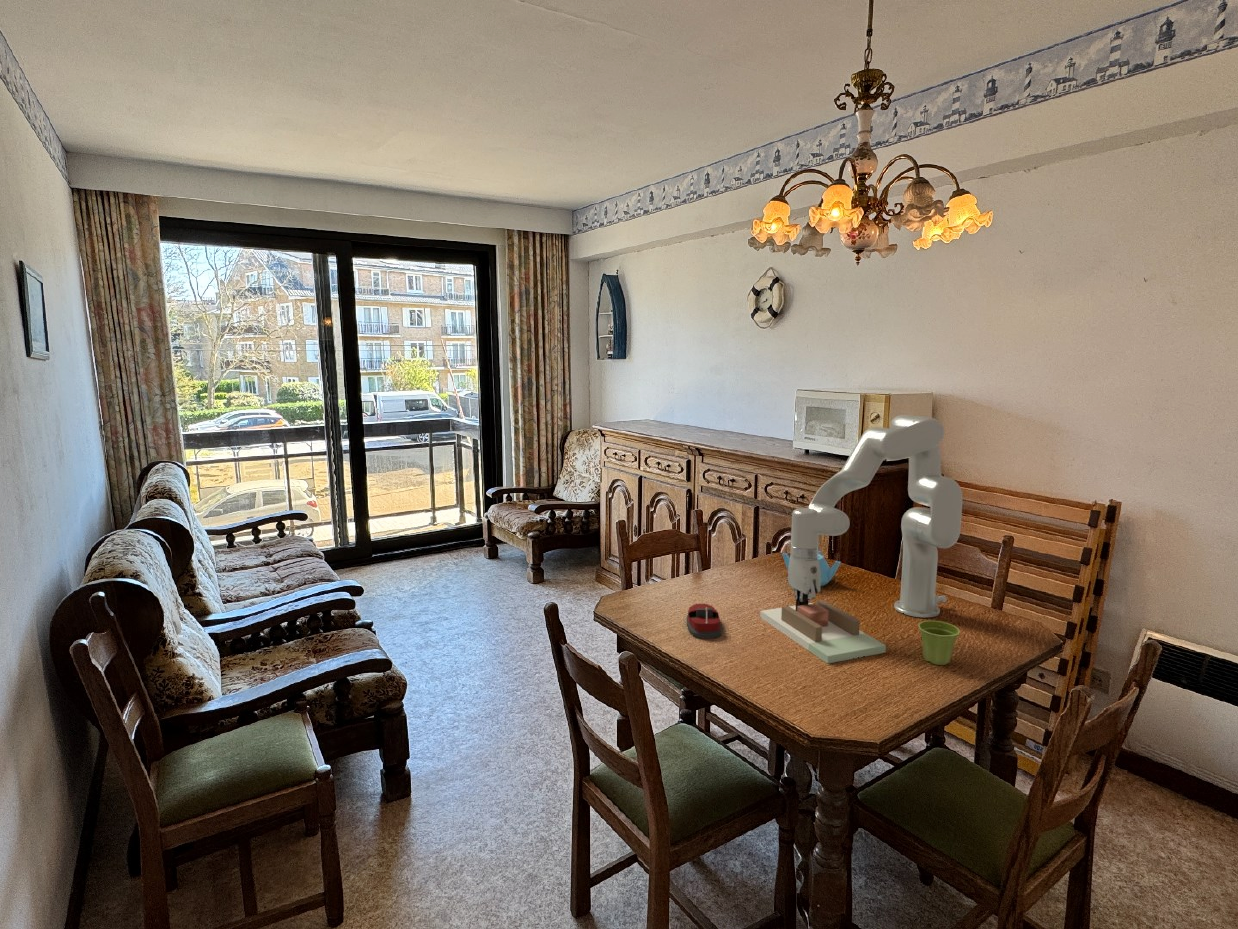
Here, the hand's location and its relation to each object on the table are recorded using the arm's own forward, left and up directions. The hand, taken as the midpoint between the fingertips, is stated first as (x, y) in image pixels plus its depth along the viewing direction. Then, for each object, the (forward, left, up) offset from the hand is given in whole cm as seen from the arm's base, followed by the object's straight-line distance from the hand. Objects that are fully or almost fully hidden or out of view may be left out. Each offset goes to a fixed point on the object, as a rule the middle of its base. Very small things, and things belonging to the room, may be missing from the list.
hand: (801, 612), depth 191 cm
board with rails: (0, +8, -3) cm, 9 cm away
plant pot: (-18, +32, -3) cm, 37 cm away
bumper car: (+28, -7, -4) cm, 29 cm away
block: (0, +5, -1) cm, 5 cm away
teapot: (-24, -30, -3) cm, 39 cm away
